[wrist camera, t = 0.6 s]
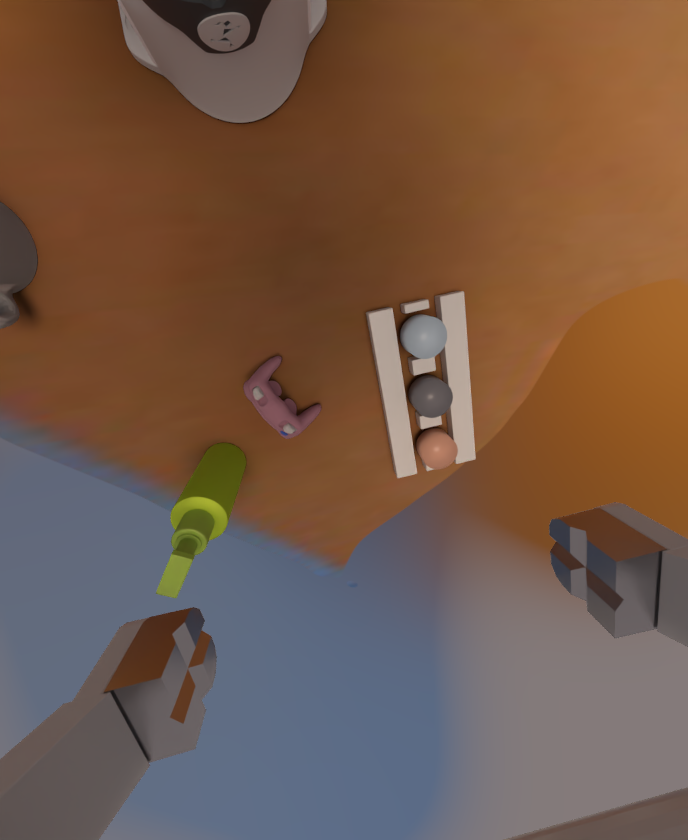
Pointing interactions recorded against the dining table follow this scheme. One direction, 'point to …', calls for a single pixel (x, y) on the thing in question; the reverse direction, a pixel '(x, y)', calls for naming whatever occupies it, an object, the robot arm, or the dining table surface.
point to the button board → (391, 377)
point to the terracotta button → (436, 448)
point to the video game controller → (277, 402)
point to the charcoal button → (430, 396)
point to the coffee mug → (14, 263)
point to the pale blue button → (423, 336)
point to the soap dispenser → (202, 511)
